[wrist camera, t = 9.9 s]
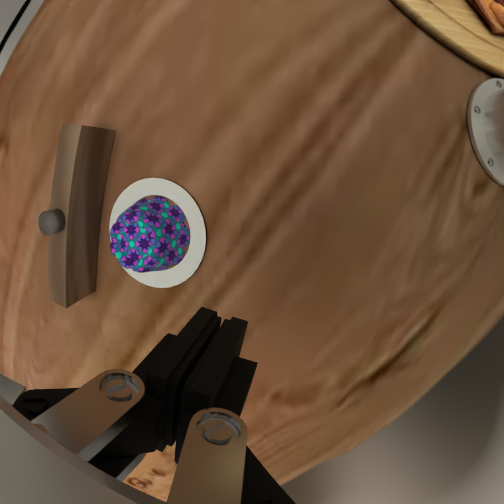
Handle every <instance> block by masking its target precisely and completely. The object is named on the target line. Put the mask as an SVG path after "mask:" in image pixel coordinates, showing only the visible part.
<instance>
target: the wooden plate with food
mask: <svg viewBox="0 0 504 504" xmlns="http://www.w3.org/2000/svg"><path fill="white" fill-rule="evenodd" d="M392 1H393V2H394V3H395V4H396V5H397V6H398V7H399V8H400V9H401V10H402V11H403V12H404V13H405V14H406V15H408V16H409V17H410V18H411V19H412V20H413V21H415V22H416V23H417V24H418V25H419V26H420V27H422V28H423V29H424V30H425V31H427V32H428V33H429V34H431V35H432V36H433V37H435V38H436V39H437V40H439V41H440V42H441V43H443V44H444V45H446V46H447V47H448V48H450V49H451V50H453V51H454V52H456V53H457V54H459V55H460V56H462V57H463V58H465V59H467V60H468V61H470V62H471V63H473V64H475V65H477V66H479V67H480V68H482V69H484V70H486V71H488V72H490V73H492V74H494V75H497V76H499V77H501V78H504V0H392Z"/></svg>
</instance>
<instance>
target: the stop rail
mask: <svg viewBox="0 0 504 504" xmlns="http://www.w3.org/2000/svg"><path fill="white" fill-rule="evenodd" d="M114 136H115V131H114V130H108V129H103V128H97V127H90V126H84V125H72V124H63V125H62V130H61V135H60V140H59V146H58V151H57V158H56V164H55V171H54V179H53V187H52V197H51V208H50V210H49V211H45V212H42V213H41V214H40V216H39V228H40V230H41V232H42V233H43V234H44V235H49V295H50V299H51V300H52V301H54V302H56V303H58V304H59V305H61V306H63V307H65V308H68V307H69V306H71V305H73V304H74V303H76V302H78V301H79V300H81V299H83V298H84V297H86V296H88V295H90V294H91V293H93V292H95V291H96V271H97V254H98V241H99V231H100V221H101V212H102V204H103V197H104V190H105V184H106V177H107V172H108V166H109V160H110V155H111V150H112V145H113V140H114Z"/></svg>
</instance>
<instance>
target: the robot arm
mask: <svg viewBox="0 0 504 504" xmlns="http://www.w3.org/2000/svg"><path fill="white" fill-rule="evenodd" d="M467 122H468V129H469V134H470V138H471V142H472V145H473V148H474V151H475V153H476V155H477V157H478V159H479V161H480V163H481V165H482V166H483V168H484V169H485V171H486V172H487V173H488V175H489V176H490V177H491V178H492V179H493V180H494V181H496V182H497V183H498V184H500V185H501V186H503V187H504V79H501V78H491V79H487V80H485V81H483V82H481V83H480V84H479V85H478V86H476V88H475V89H474V91H473V92H472V94H471V97H470V100H469V104H468V110H467ZM220 324H221V317H218V316H217V312H216V311H213V310H210V309H207V308H204V307H201V308H200V309H199V310H198V312H197V313H196V314H195V315H194V316H193V317H192V319H191V320H190V321H189V322H188V323H187V324H186V326H185V327H184V328H183V329H182V330H181V331H180V333H179V334H178V335H177V336H176V335H173V334H170V333H169V334H167V335H166V336H165V337H164V338H163V339H162V340H161V341H160V342H159V343H158V344H157V345H156V347H155V348H154V349H153V350H152V351H151V352H150V353H149V354H148V355H147V356H146V358H145V359H144V360H143V361H142V362H141V363H140V364H139V365H138V366H137V367H136V368H135V370H134V371H133V372H132V373H131V372H129V371H126V370H122V369H112V370H107V371H104V372H102V373H100V374H99V375H97V376H96V377H95V378H93V379H92V380H90V381H89V382H87V383H86V384H84V385H83V386H82V387H80V388H66V389H34V390H28V391H27V390H26V387H25V386H23V385H21V384H19V383H17V382H15V381H13V380H11V379H9V378H8V377H6V376H4V375H2V374H0V504H295V502H294V501H293V500H292V499H291V498H290V497H289V496H288V495H287V493H286V492H285V491H284V490H283V489H282V488H281V487H280V486H279V484H278V483H277V482H276V481H275V480H274V479H273V477H272V476H271V475H270V474H269V473H268V471H267V470H266V469H265V468H264V467H263V465H262V464H261V463H260V462H259V460H258V459H257V458H256V457H255V456H254V454H253V453H252V452H251V450H250V449H249V448H248V447H247V445H246V443H247V427H246V425H245V423H244V421H243V420H242V419H241V418H240V415H241V412H242V410H243V407H244V404H245V401H246V398H247V395H248V392H249V389H250V386H251V383H252V380H253V376H254V373H255V370H256V367H257V362H253V361H250V360H247V359H243V358H240V357H239V355H240V351H241V348H242V344H243V340H244V336H245V332H246V328H247V324H248V321H245V320H242V319H238V318H235V317H232V318H231V320H228V319H225V320H224V322H223V323H222V325H221V327H220ZM175 441H176V448H175V462H176V463H177V468H176V472H175V475H174V479H173V482H172V485H171V489H170V492H169V496H168V499H167V502H164V501H162V500H159V499H157V498H155V497H153V496H150V495H148V494H146V493H144V492H141V491H139V490H137V489H135V488H133V487H131V486H129V485H127V484H125V483H123V482H122V481H123V480H124V479H125V478H126V477H127V476H128V475H129V474H130V473H131V472H132V471H133V470H134V469H135V468H136V467H137V465H138V464H139V463H140V462H141V461H142V460H143V459H144V457H145V455H146V453H149V452H154V451H155V450H156V449H157V450H159V451H161V452H163V450H164V449H165V447H166V445H169V446H173V444H174V443H175Z"/></svg>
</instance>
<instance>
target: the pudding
mask: <svg viewBox="0 0 504 504" xmlns="http://www.w3.org/2000/svg"><path fill="white" fill-rule="evenodd" d="M148 195H161V196H155V197H154V198H152V199H150V200H148V199H145V198H144V199H141V198H143V197H145V196H148ZM162 196H164V197H167V198H169V199H171V200H173V201H174V202H175V203H176V204H177V205H178V206H179V207H180V208H181V209H182V210H183V212H184V214H185V215H186V217H187V220H188V222H189V226H190V233H189V229H188V228H187V227H186V226H185V225H184V220H185V216H184V214H183V212H182V210H181V209H180V208H179V207H178V206H171V205H170V204H169V202H168V200H167V199H166V198H164V197H162ZM139 199H141V200H139ZM138 200H139V201H138ZM136 201H137V202H136ZM135 202H136V203H135ZM109 231H110V240H111V244H110V247H111V251H112V253H113V255H115V256H116V257H117V259H118V262H119V263H120V265H121V266H122V267H123V268H124V269H125V271H126V272H127V273H129V274H130V275H131V276H132V277H133V278H135V279H136V280H137V281H139V282H141V283H143V284H145V285H148V286H152V287H157V288H166V287H172V286H175V285H178V284H180V283H182V282H184V281H186V280H187V279H188V278H189V277H190V276H191V275H192V274H193V273H194V272H195V271H196V269H197V268H198V266H199V264H200V262H201V260H202V258H203V254H204V251H205V244H206V231H205V225H204V220H203V217H202V215H201V212H200V210H199V208H198V206H197V204H196V203H195V201H194V200H193V198H192V197H191V196H190V195H189V194H188V193H187V192H186V191H185V190H184V189H183V188H181V187H180V186H179V185H177V184H175V183H173V182H171V181H168V180H165V179H161V178H147V179H143V180H140V181H137V182H135V183H133V184H132V185H130V186H129V187H128V188H126V189H125V190H124V191H123V192H122V193H121V195H120V196H119V197H118V199H117V201H116V203H115V204H114V207H113V210H112V213H111V218H110V228H109ZM190 234H191V239H190ZM189 240H190V245H189V249H188V252H187V254H186V256H185V257H184V255H185V254H184V247H185V246H186V245H188V244H189ZM183 257H184V259H183ZM182 259H183V260H182ZM180 261H181V262H180ZM179 262H180V263H179ZM178 263H179V264H178ZM173 264H178V265H176V266H175V267H173V268H171V269H168V270H165V269H167V268H168V267H169V265H173ZM161 270H163V271H161Z"/></svg>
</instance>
